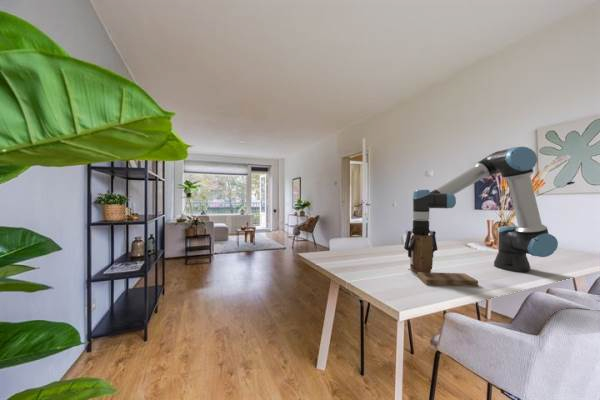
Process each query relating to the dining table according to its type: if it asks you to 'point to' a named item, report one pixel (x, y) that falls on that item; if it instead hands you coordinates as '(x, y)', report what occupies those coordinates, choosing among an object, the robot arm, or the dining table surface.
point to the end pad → (413, 272)
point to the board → (447, 279)
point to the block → (422, 253)
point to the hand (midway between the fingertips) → (420, 263)
